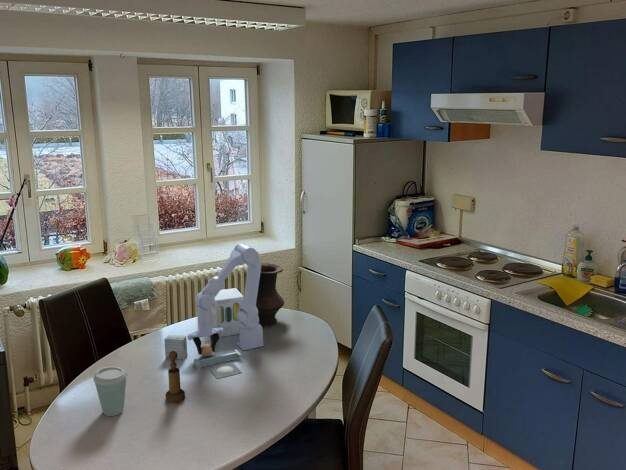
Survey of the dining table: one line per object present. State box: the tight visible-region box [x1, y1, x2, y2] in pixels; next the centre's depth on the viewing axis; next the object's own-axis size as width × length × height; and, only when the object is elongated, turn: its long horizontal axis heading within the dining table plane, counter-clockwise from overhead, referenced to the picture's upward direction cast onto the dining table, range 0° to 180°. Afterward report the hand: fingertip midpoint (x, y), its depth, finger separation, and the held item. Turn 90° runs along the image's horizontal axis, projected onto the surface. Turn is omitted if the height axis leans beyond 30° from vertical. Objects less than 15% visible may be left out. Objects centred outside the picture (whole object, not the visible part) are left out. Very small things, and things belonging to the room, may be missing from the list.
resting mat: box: [208, 362, 243, 380], centre depth 225 cm, size 10×10×1 cm
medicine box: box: [163, 334, 188, 360], centre depth 236 cm, size 8×4×9 cm, turn 84°
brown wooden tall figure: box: [165, 351, 186, 405], centre depth 202 cm, size 7×6×18 cm
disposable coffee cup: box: [93, 365, 128, 417], centre depth 194 cm, size 11×11×15 cm
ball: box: [201, 343, 213, 357], centre depth 237 cm, size 5×5×5 cm
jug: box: [256, 262, 285, 327], centre depth 269 cm, size 21×18×30 cm
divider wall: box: [193, 349, 242, 371], centre depth 232 cm, size 18×5×2 cm, turn 119°
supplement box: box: [211, 287, 244, 338], centre depth 262 cm, size 13×13×18 cm
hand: (206, 352), depth 237 cm, fingers closed on ball, 5 cm apart
